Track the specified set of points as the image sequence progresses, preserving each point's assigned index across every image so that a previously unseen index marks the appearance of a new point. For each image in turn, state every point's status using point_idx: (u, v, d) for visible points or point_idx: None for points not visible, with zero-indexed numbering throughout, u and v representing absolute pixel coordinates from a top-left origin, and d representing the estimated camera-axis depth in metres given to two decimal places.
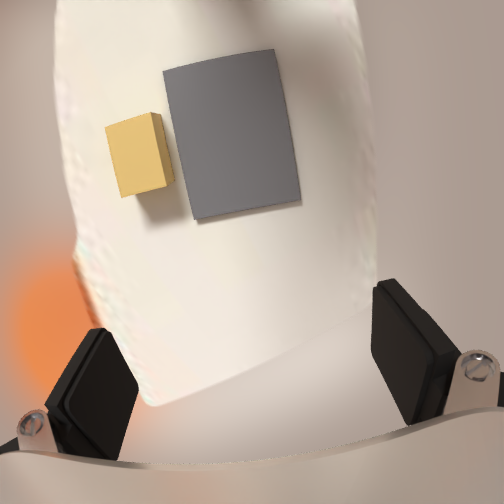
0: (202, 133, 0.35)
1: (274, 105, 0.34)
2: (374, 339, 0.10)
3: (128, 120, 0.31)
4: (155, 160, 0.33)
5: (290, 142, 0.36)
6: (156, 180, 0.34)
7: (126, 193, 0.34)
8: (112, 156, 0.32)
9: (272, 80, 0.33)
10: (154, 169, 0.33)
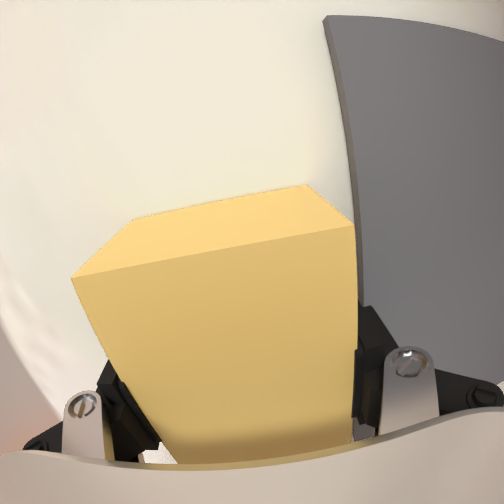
0: (439, 269, 0.10)
1: None
2: None
3: (208, 259, 0.06)
4: (333, 417, 0.08)
5: None
6: None
7: None
8: (137, 398, 0.07)
9: None
10: (324, 436, 0.08)
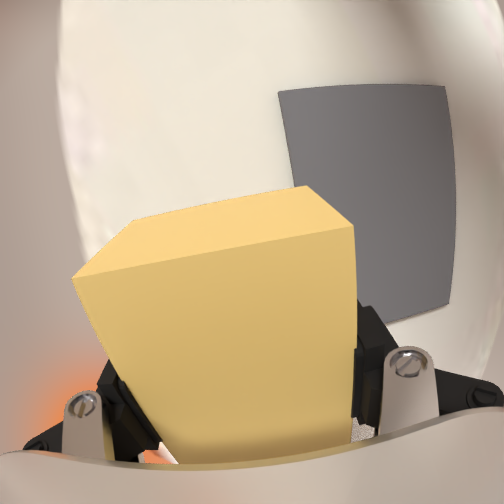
0: (345, 214, 0.22)
1: (443, 176, 0.21)
2: None
3: (208, 260, 0.06)
4: (333, 417, 0.08)
5: (454, 230, 0.22)
6: None
7: None
8: (138, 398, 0.07)
9: (444, 137, 0.20)
10: (323, 435, 0.08)
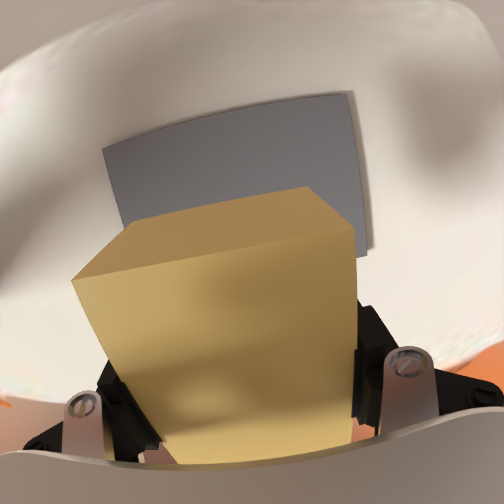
0: None
1: (191, 137, 0.22)
2: None
3: (209, 262, 0.06)
4: (333, 418, 0.08)
5: (252, 108, 0.21)
6: None
7: None
8: (138, 399, 0.07)
9: (151, 143, 0.22)
10: (324, 436, 0.08)
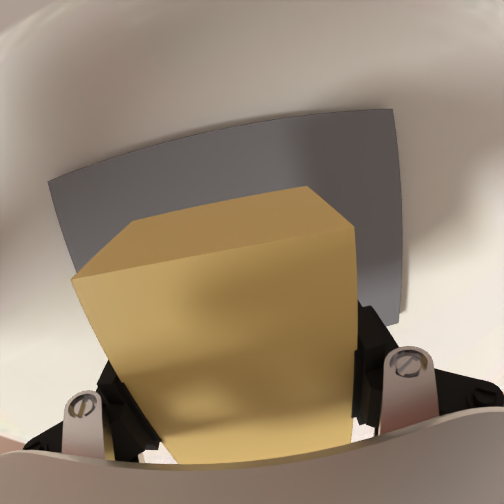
0: None
1: (167, 167, 0.15)
2: None
3: (208, 261, 0.06)
4: (333, 418, 0.08)
5: (258, 125, 0.14)
6: None
7: None
8: (138, 399, 0.07)
9: (110, 175, 0.15)
10: (324, 437, 0.08)
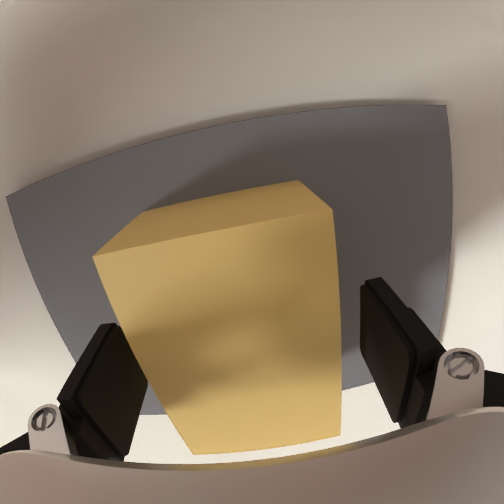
0: None
1: (148, 178, 0.11)
2: (362, 337, 0.10)
3: (211, 238, 0.07)
4: (323, 388, 0.09)
5: (274, 120, 0.10)
6: (314, 429, 0.10)
7: (208, 450, 0.10)
8: (146, 368, 0.08)
9: (77, 189, 0.11)
10: (315, 407, 0.09)
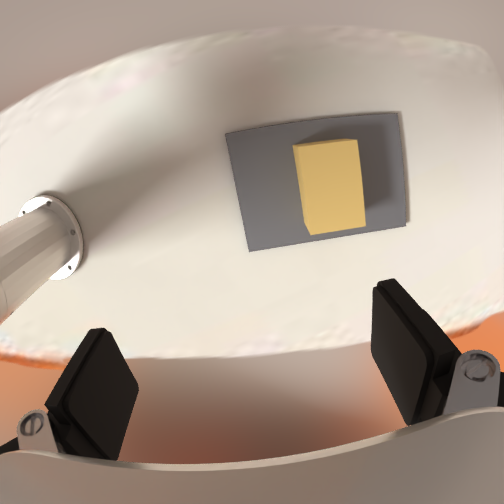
0: None
1: (295, 133, 0.31)
2: (374, 339, 0.10)
3: (330, 144, 0.28)
4: (357, 196, 0.29)
5: (337, 118, 0.31)
6: (356, 219, 0.30)
7: (317, 231, 0.31)
8: (305, 185, 0.29)
9: (266, 134, 0.32)
10: (356, 206, 0.30)
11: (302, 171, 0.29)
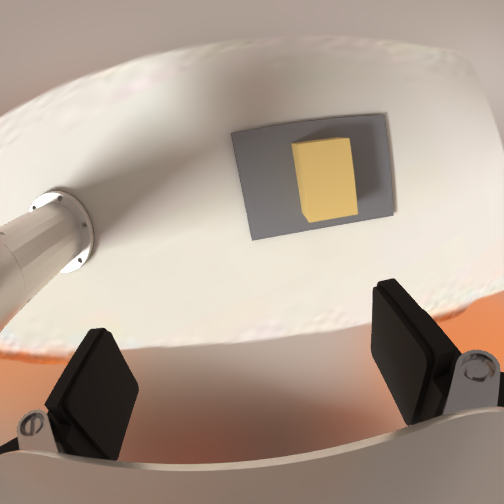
0: None
1: (294, 133, 0.35)
2: (374, 339, 0.10)
3: (325, 142, 0.31)
4: (350, 188, 0.33)
5: (331, 119, 0.35)
6: (349, 208, 0.34)
7: (315, 218, 0.35)
8: (304, 177, 0.33)
9: (267, 134, 0.35)
10: (349, 196, 0.34)
11: (301, 166, 0.32)
